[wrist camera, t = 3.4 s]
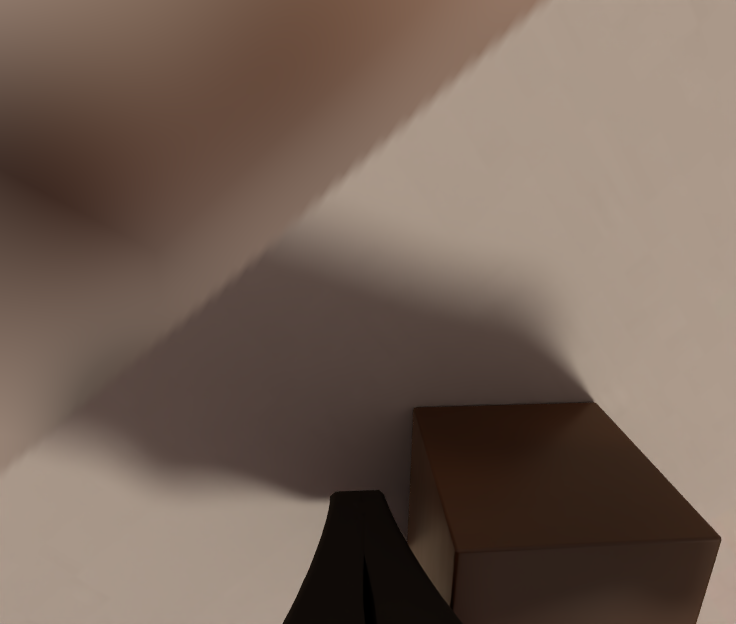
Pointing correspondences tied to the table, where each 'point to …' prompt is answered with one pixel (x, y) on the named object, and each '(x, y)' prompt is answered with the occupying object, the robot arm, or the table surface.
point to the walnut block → (551, 519)
